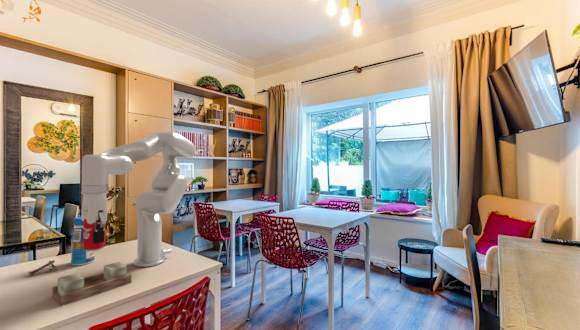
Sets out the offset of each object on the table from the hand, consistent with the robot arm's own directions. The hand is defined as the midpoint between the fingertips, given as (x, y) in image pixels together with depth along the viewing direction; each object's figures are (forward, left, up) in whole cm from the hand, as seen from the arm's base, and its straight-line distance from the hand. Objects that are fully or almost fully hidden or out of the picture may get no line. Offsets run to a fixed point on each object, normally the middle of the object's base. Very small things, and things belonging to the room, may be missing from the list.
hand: (94, 240), depth 92 cm
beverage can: (0, 0, -3) cm, 3 cm away
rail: (0, 0, -17) cm, 17 cm away
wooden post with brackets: (+7, -31, -17) cm, 36 cm away
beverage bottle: (-6, -32, -17) cm, 37 cm away
